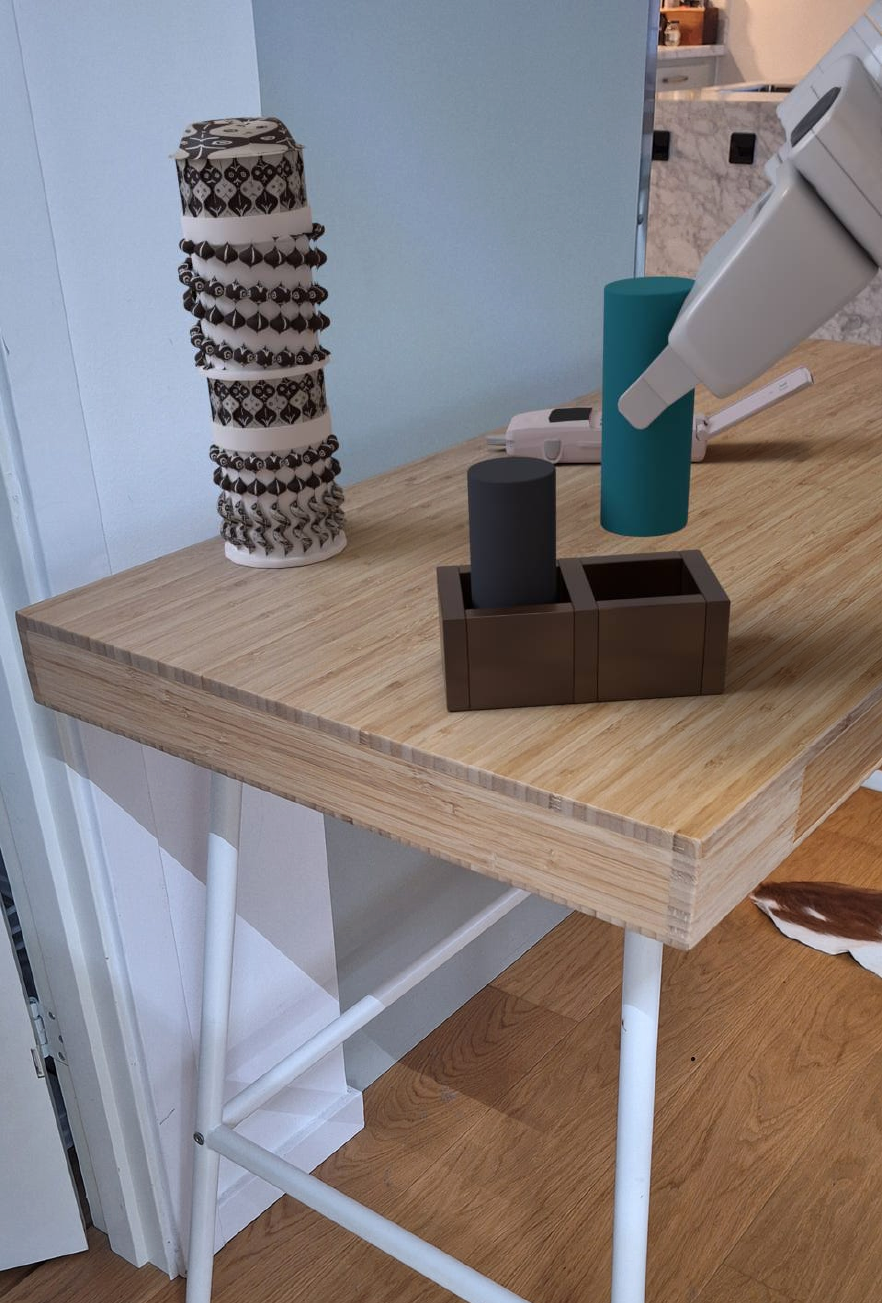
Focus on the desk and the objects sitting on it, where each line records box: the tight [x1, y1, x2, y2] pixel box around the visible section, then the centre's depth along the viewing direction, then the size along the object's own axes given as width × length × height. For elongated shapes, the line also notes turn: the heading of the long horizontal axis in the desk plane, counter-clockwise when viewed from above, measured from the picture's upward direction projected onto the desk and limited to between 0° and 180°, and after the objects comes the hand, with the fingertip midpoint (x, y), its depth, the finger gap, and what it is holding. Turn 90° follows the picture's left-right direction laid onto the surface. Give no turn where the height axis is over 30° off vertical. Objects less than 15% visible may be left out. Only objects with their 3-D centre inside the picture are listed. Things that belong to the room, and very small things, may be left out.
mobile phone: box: [486, 365, 815, 465], centre depth 105 cm, size 6×6×25 cm
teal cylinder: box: [599, 275, 696, 538], centre depth 65 cm, size 4×4×11 cm
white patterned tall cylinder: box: [168, 116, 348, 569], centre depth 85 cm, size 9×9×25 cm
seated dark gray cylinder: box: [466, 456, 557, 609], centre depth 70 cm, size 4×4×11 cm
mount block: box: [435, 549, 732, 712], centre depth 72 cm, size 14×8×5 cm, turn 92°
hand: (635, 400), depth 65 cm, fingers closed on teal cylinder, 4 cm apart
